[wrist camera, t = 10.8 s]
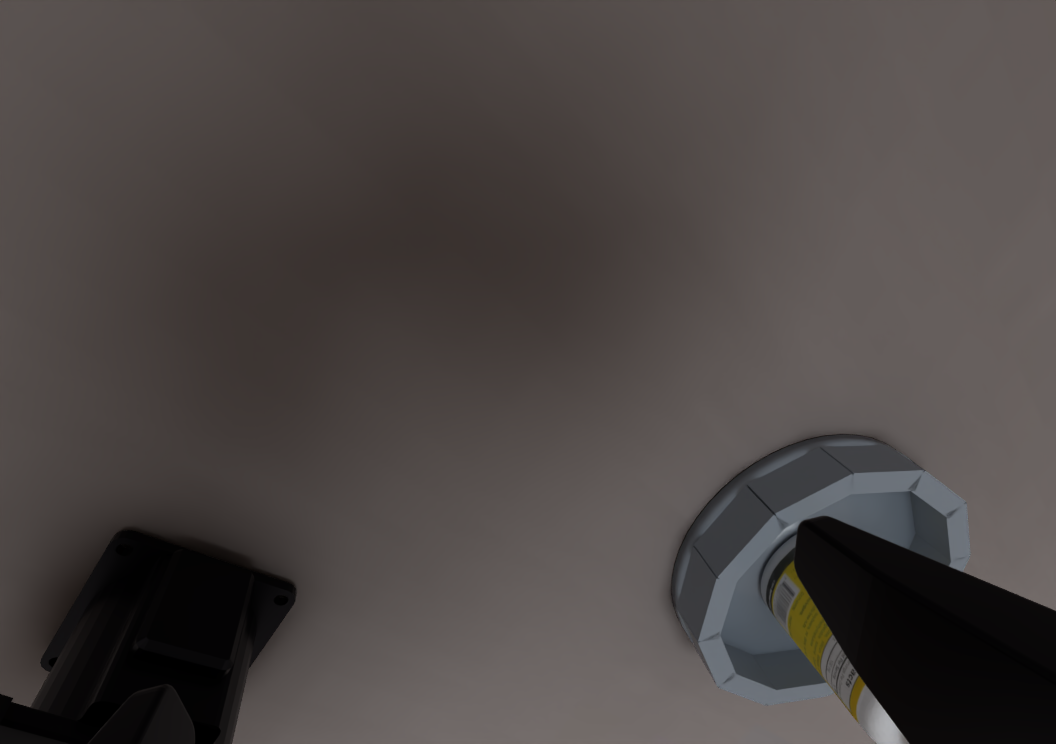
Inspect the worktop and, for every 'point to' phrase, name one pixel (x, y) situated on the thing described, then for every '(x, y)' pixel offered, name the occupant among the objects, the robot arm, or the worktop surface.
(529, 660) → the worktop surface
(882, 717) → the supplement bottle
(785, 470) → the round dish
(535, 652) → the worktop surface
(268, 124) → the worktop surface
